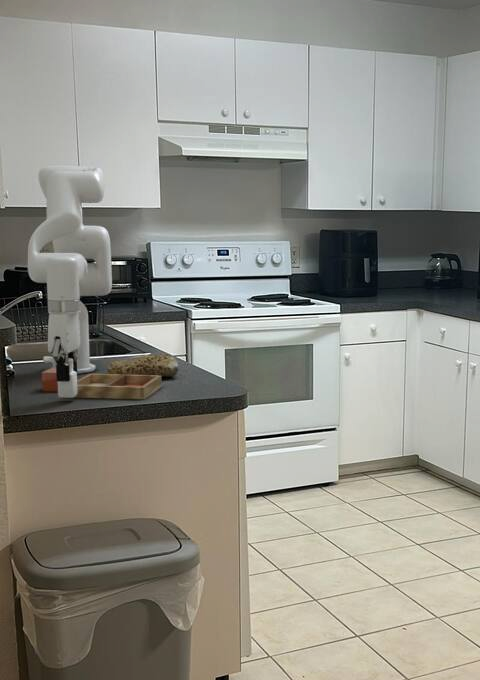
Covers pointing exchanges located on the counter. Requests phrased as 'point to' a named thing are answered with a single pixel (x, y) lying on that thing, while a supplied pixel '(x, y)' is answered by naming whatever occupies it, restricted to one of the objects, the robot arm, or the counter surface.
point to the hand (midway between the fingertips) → (67, 378)
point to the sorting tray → (118, 386)
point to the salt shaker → (68, 384)
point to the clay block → (49, 380)
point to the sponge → (146, 366)
